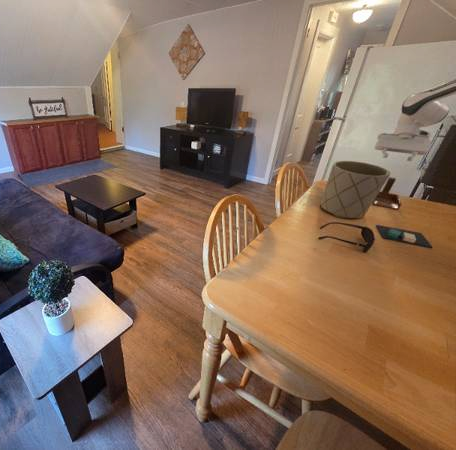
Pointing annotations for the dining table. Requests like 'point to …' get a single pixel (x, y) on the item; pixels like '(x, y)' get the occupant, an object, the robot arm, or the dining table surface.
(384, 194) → the basket
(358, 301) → the dining table surface
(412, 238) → the packet
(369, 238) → the sunglasses
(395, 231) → the packet
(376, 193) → the planter
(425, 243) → the mat
